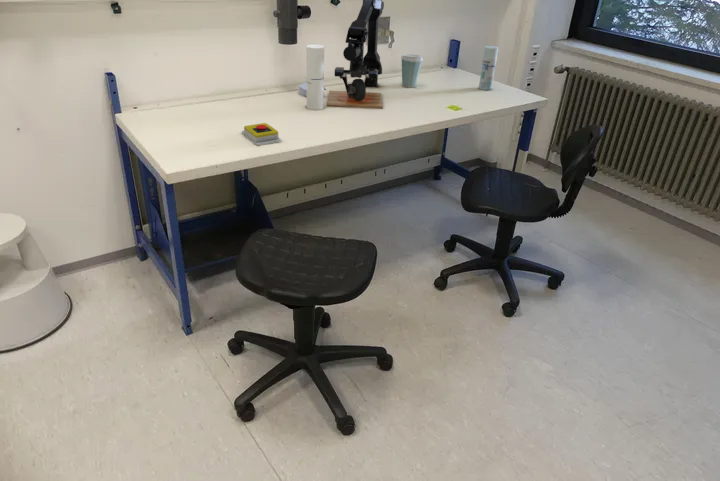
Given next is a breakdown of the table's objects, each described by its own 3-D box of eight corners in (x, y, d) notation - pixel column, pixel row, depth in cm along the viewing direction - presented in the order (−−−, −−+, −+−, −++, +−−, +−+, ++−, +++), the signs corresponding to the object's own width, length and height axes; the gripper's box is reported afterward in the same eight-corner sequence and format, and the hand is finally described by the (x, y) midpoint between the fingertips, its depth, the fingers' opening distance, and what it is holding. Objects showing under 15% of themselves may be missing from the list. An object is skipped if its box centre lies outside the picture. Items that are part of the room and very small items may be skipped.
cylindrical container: (320, 110, 226) (321, 48, 213) (304, 108, 227) (304, 47, 214) (325, 105, 232) (326, 45, 219) (309, 104, 233) (309, 43, 220)
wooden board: (329, 92, 250) (329, 90, 249) (380, 94, 250) (380, 92, 250) (327, 106, 231) (327, 104, 230) (382, 108, 232) (382, 106, 231)
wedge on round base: (326, 97, 243) (313, 89, 252) (327, 82, 239) (313, 75, 249) (309, 99, 239) (296, 91, 248) (309, 84, 235) (296, 77, 244)
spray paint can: (475, 87, 269) (482, 45, 259) (486, 86, 272) (493, 45, 262) (483, 90, 264) (490, 48, 254) (494, 89, 267) (501, 48, 257)
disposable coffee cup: (395, 83, 269) (398, 52, 261) (415, 82, 272) (418, 52, 264) (403, 89, 260) (406, 57, 253) (423, 88, 263) (427, 56, 256)
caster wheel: (367, 104, 236) (353, 91, 247) (369, 82, 231) (355, 70, 241) (356, 105, 234) (342, 92, 245) (357, 83, 228) (343, 71, 239)
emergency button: (256, 133, 185) (240, 121, 196) (257, 145, 188) (241, 132, 198) (281, 129, 190) (263, 117, 201) (281, 141, 192) (264, 129, 203)
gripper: (334, 59, 224) (333, 96, 232) (378, 61, 224) (376, 98, 232) (335, 53, 233) (334, 89, 241) (378, 55, 234) (376, 91, 242)
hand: (355, 92), depth 239 cm, fingers closed on caster wheel, 7 cm apart
